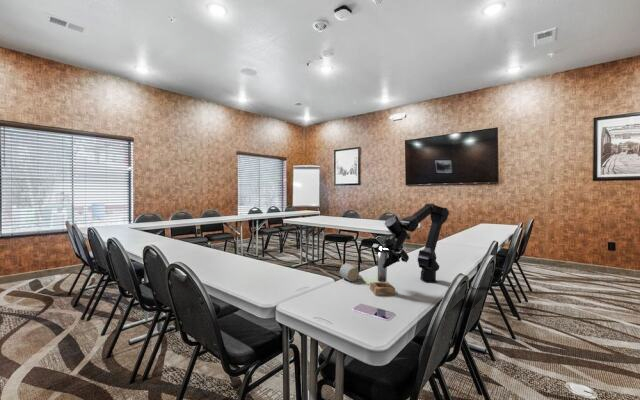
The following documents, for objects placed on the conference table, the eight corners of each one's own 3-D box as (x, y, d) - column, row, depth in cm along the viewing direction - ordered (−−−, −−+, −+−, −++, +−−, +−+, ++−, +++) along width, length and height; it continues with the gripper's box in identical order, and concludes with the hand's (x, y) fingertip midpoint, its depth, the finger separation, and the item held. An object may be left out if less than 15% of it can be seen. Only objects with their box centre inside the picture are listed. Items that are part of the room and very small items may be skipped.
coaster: (379, 278, 153) (379, 277, 153) (386, 284, 143) (386, 283, 143) (361, 278, 152) (361, 277, 151) (366, 284, 142) (367, 283, 142)
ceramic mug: (348, 283, 144) (348, 267, 144) (339, 278, 151) (339, 263, 151) (365, 280, 149) (365, 265, 149) (355, 276, 156) (356, 262, 156)
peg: (384, 279, 134) (385, 251, 134) (387, 281, 130) (388, 253, 130) (376, 279, 134) (376, 251, 133) (379, 282, 130) (379, 253, 129)
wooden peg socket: (387, 288, 137) (387, 281, 137) (394, 294, 128) (394, 288, 128) (369, 288, 136) (369, 282, 136) (375, 295, 127) (375, 288, 127)
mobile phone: (360, 302, 117) (396, 312, 108) (360, 305, 117) (396, 314, 108) (351, 308, 111) (387, 319, 102) (351, 311, 111) (387, 322, 102)
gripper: (375, 226, 141) (357, 251, 136) (404, 231, 125) (386, 260, 120) (386, 241, 146) (369, 266, 140) (416, 248, 130) (399, 276, 124)
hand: (380, 266), depth 131 cm, fingers closed on peg, 4 cm apart
